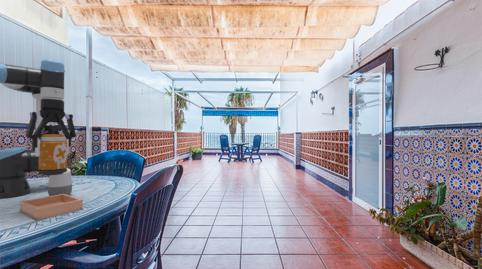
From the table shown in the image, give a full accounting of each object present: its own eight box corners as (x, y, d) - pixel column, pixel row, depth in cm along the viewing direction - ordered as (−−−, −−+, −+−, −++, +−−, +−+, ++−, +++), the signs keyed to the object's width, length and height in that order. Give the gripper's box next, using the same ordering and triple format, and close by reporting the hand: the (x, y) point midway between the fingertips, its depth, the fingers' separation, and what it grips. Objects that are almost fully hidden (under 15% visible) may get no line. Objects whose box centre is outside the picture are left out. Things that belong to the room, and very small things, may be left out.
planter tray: (19, 211, 94) (19, 201, 94) (63, 202, 107) (63, 193, 107) (36, 220, 85) (37, 209, 85) (82, 209, 98) (82, 199, 98)
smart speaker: (52, 200, 110) (52, 170, 110) (44, 197, 115) (44, 168, 115) (75, 195, 118) (75, 167, 118) (66, 193, 123) (67, 166, 123)
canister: (51, 176, 90) (51, 124, 90) (28, 175, 92) (28, 123, 92) (72, 172, 99) (72, 124, 99) (50, 171, 101) (51, 124, 101)
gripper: (21, 94, 85) (20, 158, 85) (86, 102, 103) (85, 153, 103) (13, 96, 89) (13, 156, 89) (77, 103, 107) (77, 153, 107)
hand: (52, 155), depth 96 cm, fingers closed on canister, 9 cm apart
